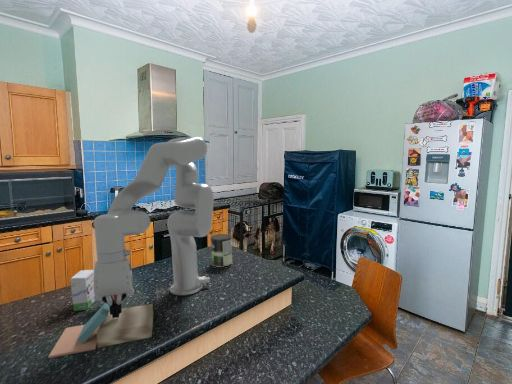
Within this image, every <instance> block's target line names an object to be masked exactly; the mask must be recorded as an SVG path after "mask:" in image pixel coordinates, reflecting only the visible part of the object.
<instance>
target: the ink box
mask: <svg viewBox="0 0 512 384" xmlns="http://www.w3.org/2000/svg"><path fill="white" fill-rule="evenodd" d="M70 289H71V298H72V308H73V311H74V312H76V311H85V310H89V309H90V308H91V307H92V305H93V304H94V302H95V301H96V300H94V297H95V294H94V269H83V270H82V269H81V270H79V271H78V272H77V273H76V274H74V275H73V276H72V277H71V278H70Z"/></svg>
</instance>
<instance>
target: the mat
mask: <svg viewBox="0 0 512 384" xmlns="http://www.w3.org/2000/svg"><path fill="white" fill-rule="evenodd" d="M84 325H85V324H82V325H75V326H70V327H66V328H64V330H63V332H62V333H61V335H60V337H59V339H58V340H57V342H56V343H55V345H54V347H53V348H52V350H51V351H50V353H49V355H48V359H54V358H57V357H62V356H63V357H64V356H68V355H73V354H74V355H75V354H78V353H83V352H89V351H92V350H96V349H97V347H98V343H97V332H98V330H99V327H100V326H99V327H98V328H97V329H96V330H95V331H94V332H93V334H92V335H91V336H90V337H89V338H88V339H87V340H86V341H85V342H84V344H83V343H82V342H80V341H78V340H77V339H78V337H79V335H80V333H81V331H82V329H83V327H84Z"/></svg>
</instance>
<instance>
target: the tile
mask: <svg viewBox="0 0 512 384" xmlns="http://www.w3.org/2000/svg"><path fill="white" fill-rule="evenodd" d="M109 311H110V307H109V306H108V304H107V303H105V302H104V303H103V304H102V305H101V306H100V308H98V310H97V311H96V312H95V314H93V316H91V318H90V319H89V320H88V321H87V322H86V323H85V324H83V325H84V327H83V329H82V331H81V333H80V335H79V337H78V339H77V340H78V341H80V342H82V343H83V344H84V342H85V341H86V340H87V339H88V338H89V337H90V336H91V335H92V334H93V332H94V331H95V330H96V329H97V328H98V327H99V326H100V325H101V323H102V322H103V321H104V320H105V319H106V318H107V316H108V313H109Z"/></svg>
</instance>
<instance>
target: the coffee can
mask: <svg viewBox="0 0 512 384" xmlns="http://www.w3.org/2000/svg"><path fill="white" fill-rule="evenodd" d="M210 245H211V246H210V251H211V252H210V253H211V266H212V265H213V266H216V267H221V266H227V265H230V264H232V265H233V253H232V250H233V249H232V247H233V245H232V235H231V234H226V233H225V234H224V233H223V234H222V233H219V234H214V235H212V236H210ZM213 266H212V267H213ZM216 267H215V268H216Z"/></svg>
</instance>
